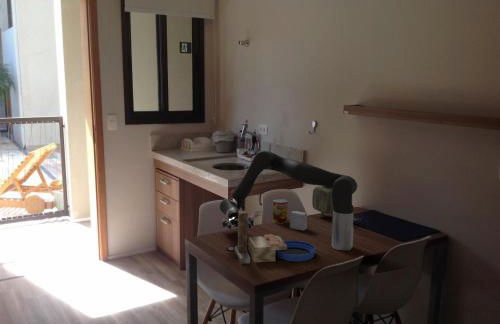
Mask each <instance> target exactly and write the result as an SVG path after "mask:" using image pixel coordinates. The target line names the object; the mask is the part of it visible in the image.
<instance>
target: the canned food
mask: <svg viewBox="0 0 500 324" xmlns="http://www.w3.org/2000/svg"><path fill="white" fill-rule="evenodd" d="M272 202H273V203H272V223H273V224H276V223H278V224H277V225H283V224H284V223H285V224H287V223H288V204H289V203H288V200H287V199H285V198H276V199H273V200H272Z"/></svg>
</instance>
